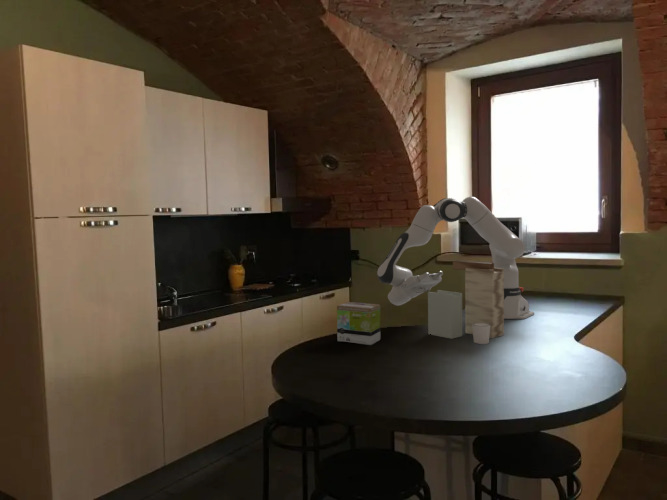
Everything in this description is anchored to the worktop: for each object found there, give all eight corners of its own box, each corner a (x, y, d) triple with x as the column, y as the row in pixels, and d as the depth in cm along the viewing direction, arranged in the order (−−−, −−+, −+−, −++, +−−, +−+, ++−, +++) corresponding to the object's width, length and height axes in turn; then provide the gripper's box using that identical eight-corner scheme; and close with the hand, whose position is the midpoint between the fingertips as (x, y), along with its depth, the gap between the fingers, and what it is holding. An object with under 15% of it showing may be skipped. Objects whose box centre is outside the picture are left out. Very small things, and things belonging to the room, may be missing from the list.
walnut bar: (458, 268, 232) (457, 260, 232) (494, 271, 219) (494, 262, 218) (452, 269, 230) (452, 261, 230) (489, 272, 216) (489, 263, 216)
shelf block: (477, 330, 229) (476, 266, 228) (503, 334, 219) (503, 268, 218) (465, 332, 224) (465, 268, 222) (492, 337, 214) (492, 270, 212)
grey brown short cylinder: (488, 340, 211) (488, 322, 210) (492, 344, 204) (492, 326, 204) (470, 340, 211) (470, 322, 211) (473, 344, 205) (473, 326, 204)
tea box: (336, 342, 213) (335, 305, 212) (347, 336, 222) (347, 301, 221) (371, 345, 206) (370, 307, 205) (381, 340, 215) (380, 303, 214)
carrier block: (439, 331, 228) (438, 290, 227) (462, 335, 219) (462, 292, 218) (428, 334, 224) (427, 291, 222) (451, 338, 214) (451, 294, 213)
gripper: (396, 281, 244) (416, 268, 234) (426, 278, 257) (446, 265, 247) (401, 294, 242) (422, 281, 232) (431, 290, 255) (451, 278, 245)
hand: (434, 273), depth 240 cm, fingers open, 8 cm apart
